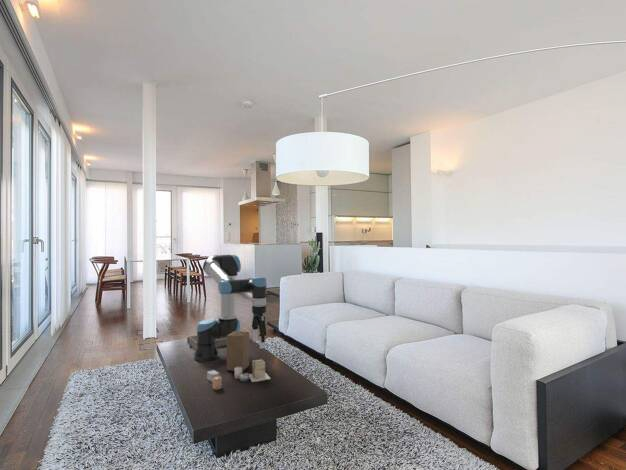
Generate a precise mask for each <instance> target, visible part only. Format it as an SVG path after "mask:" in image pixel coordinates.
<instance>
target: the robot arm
mask: <svg viewBox="0 0 626 470" xmlns="http://www.w3.org/2000/svg"><path fill="white" fill-rule="evenodd" d="M241 265H242V264H241V260H240V258H239V256H237V255H236V254H220V255H219V254H214V255H210V256H208V257H207V258H206V259H205V260H204V262H203V264H202V268H203V272H204V273H205V274H206V275H207V276H209V277H211V278H212V279H213V281H215V283H217V284H218V285H217V287H218V292H219V294H220V296H221V299H220V302H221V303H220V315H219V316H218V320H217V319H216V318H208V319H207V318H206V319H203V320H200V321H198V323H197V325H196V326H197V327H196V336H197V347H196V350H195V349H194V350H195V351H194V354H193V359H194V360H195V361H198V362H209V361H210V362H211V361H212V360H216V359H218V358H219V355H220V354H219V350H218V347H217V346H216V339H223V338H227V335H229V334H230V333H232V332H234V331H238V332H240V330H241V323H240V319H239V318H238V316H237V315H236V314H235V308H236V307H235V304H236V303H235V300H236V299H235V298H236V295H235V294H246V293H251V295H252V298H251V304H252V306H251V313H253V317H252V323H251V328H252V342H253V343H254V342H258V341H259V349H260V350H261V349H266V336H267V335H268V334H267V327H266V317H265V316H263V315H264V314H265V313H267V306H266V305H267V278H266V277H265V276H254V277H252V278H251V277H250V278H249V277H247V278H245V279H244V278H243V279H236V278H237V276H238V273H240V272H241V269H242V266H241Z"/></svg>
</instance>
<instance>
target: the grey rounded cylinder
mask: <svg viewBox="0 0 626 470" xmlns="http://www.w3.org/2000/svg"><path fill="white" fill-rule="evenodd" d="M241 373H243V371H242V367H235V371H234V378H235V379H236V380H237V379H238V380H239V374H241Z"/></svg>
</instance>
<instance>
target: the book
mask: <svg viewBox="0 0 626 470" xmlns="http://www.w3.org/2000/svg"><path fill="white" fill-rule="evenodd" d="M186 341H187V345H189V344H190V345H191V346H190V345H189V346H190V347H191V348H192V349H194V350H196V347H197V335H193V336H191V335H190V336H187V340H186ZM216 346H217V348H221V347H227V338H223V339H216Z"/></svg>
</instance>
